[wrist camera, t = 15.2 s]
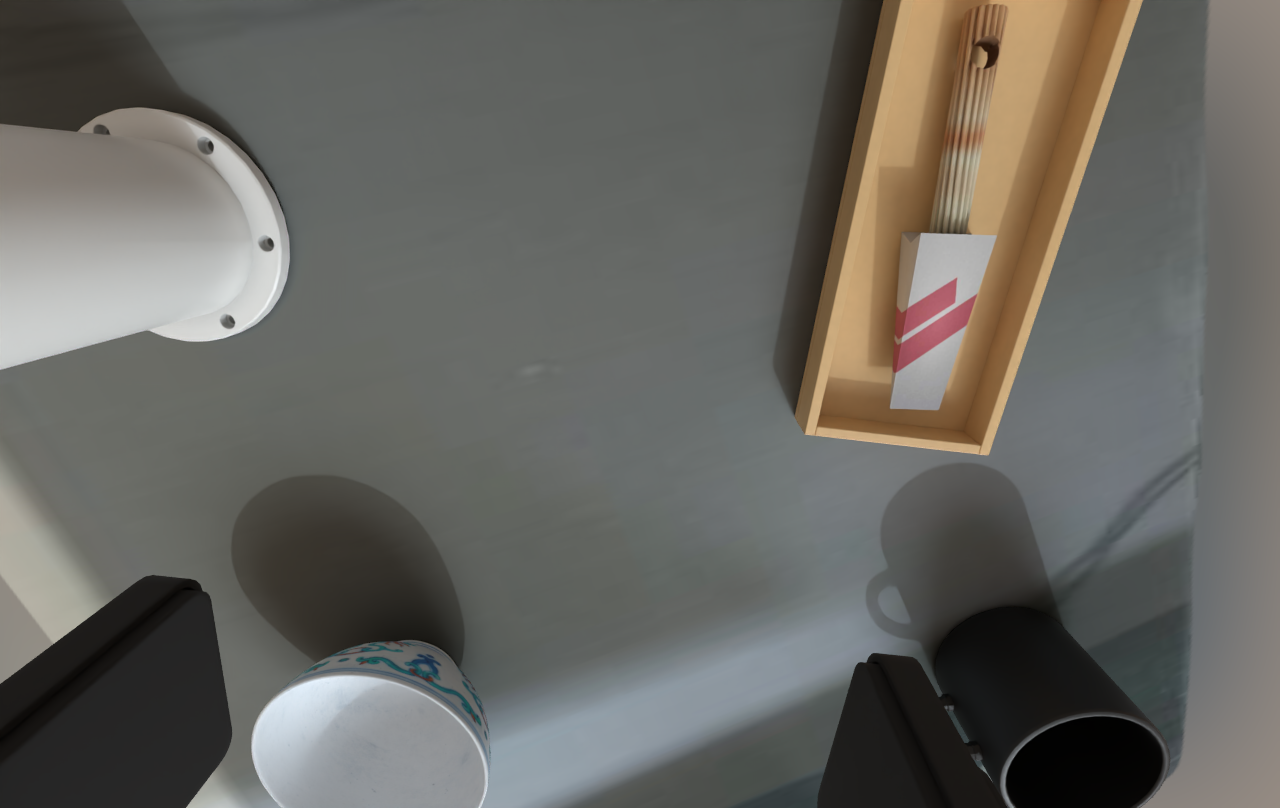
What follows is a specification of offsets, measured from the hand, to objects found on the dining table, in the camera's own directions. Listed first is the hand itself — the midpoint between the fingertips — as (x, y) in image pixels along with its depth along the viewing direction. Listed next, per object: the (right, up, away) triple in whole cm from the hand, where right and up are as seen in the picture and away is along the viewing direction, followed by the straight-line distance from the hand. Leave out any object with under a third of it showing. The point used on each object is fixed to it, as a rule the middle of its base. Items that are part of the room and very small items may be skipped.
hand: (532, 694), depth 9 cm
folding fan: (+18, +14, +24) cm, 33 cm away
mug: (+26, -14, +34) cm, 46 cm away
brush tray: (+18, +14, +24) cm, 33 cm away
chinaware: (-15, -16, +36) cm, 43 cm away
